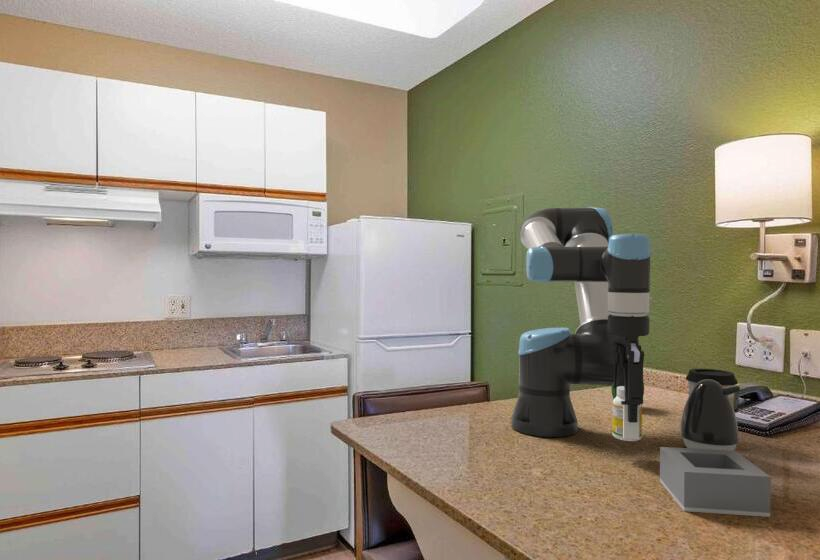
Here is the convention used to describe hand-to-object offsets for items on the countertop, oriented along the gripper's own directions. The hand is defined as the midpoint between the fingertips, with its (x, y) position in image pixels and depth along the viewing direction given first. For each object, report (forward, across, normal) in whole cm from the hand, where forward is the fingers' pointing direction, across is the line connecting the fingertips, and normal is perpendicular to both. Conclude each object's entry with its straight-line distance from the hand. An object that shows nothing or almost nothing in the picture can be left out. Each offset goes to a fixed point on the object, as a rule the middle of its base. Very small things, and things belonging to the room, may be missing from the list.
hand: (626, 432), depth 104 cm
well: (+5, -17, -9) cm, 20 cm away
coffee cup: (+6, +15, -21) cm, 27 cm away
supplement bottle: (+1, 0, 0) cm, 1 cm away
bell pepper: (+6, +42, -10) cm, 44 cm away
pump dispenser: (+6, +5, -17) cm, 19 cm away
